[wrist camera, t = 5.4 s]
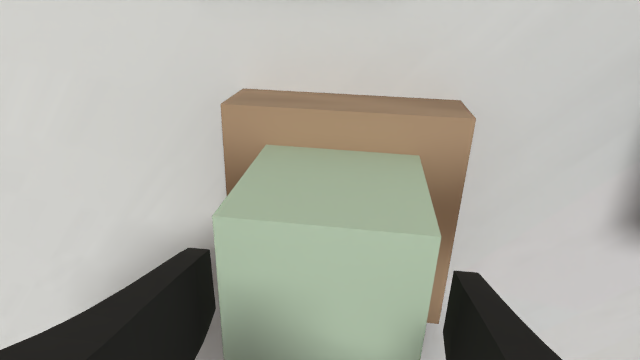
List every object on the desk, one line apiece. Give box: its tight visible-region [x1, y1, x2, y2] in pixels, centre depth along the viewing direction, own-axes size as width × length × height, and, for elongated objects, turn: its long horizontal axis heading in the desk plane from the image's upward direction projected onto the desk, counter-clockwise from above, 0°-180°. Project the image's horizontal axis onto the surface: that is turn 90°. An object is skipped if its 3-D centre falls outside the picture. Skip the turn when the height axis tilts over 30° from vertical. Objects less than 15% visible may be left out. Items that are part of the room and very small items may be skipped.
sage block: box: [212, 145, 441, 360], centre depth 12 cm, size 5×5×5 cm
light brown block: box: [221, 89, 476, 324], centre depth 16 cm, size 8×8×3 cm
